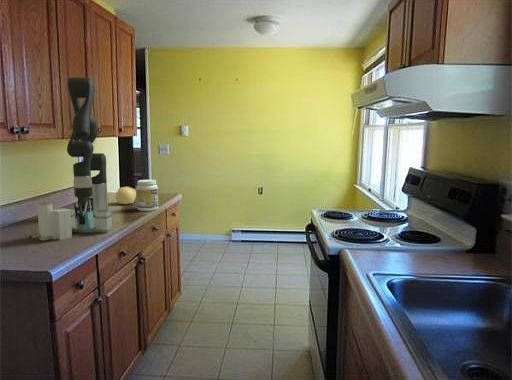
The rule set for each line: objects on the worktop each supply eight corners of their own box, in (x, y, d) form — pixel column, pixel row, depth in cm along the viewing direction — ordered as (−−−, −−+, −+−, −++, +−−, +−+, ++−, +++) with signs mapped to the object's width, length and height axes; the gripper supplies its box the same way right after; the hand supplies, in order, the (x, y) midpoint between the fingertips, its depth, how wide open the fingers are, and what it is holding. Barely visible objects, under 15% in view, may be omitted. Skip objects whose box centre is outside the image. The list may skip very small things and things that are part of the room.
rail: (65, 229, 177) (63, 209, 176) (112, 229, 176) (111, 209, 175) (58, 232, 172) (57, 211, 170) (107, 232, 171) (106, 212, 170)
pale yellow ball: (138, 202, 246) (138, 185, 244) (130, 205, 234) (129, 188, 232) (121, 201, 247) (120, 185, 245) (112, 205, 235) (111, 187, 234)
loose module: (93, 226, 176) (92, 210, 175) (88, 229, 171) (87, 213, 170) (82, 226, 177) (81, 210, 175) (77, 229, 172) (76, 213, 171)
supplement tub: (156, 211, 218) (155, 181, 215) (134, 211, 217) (133, 182, 214) (160, 207, 230) (159, 179, 227) (139, 207, 229) (138, 179, 226)
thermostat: (72, 237, 164) (69, 203, 161) (36, 245, 153) (33, 208, 151) (59, 232, 171) (56, 199, 169) (24, 239, 160) (21, 204, 158)
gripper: (83, 188, 164) (86, 226, 166) (98, 183, 178) (100, 219, 181) (66, 188, 164) (69, 226, 167) (82, 183, 178) (84, 219, 181)
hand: (85, 222), depth 174 cm, fingers open, 5 cm apart
